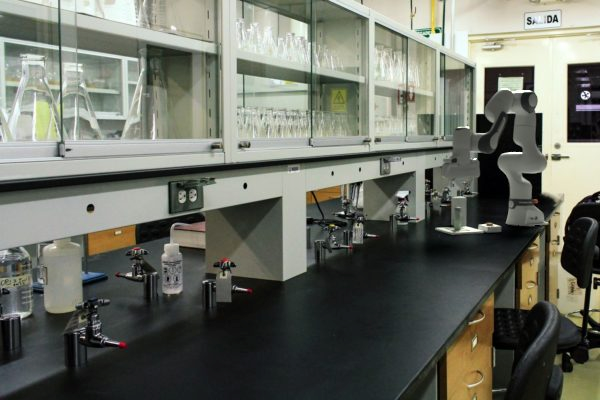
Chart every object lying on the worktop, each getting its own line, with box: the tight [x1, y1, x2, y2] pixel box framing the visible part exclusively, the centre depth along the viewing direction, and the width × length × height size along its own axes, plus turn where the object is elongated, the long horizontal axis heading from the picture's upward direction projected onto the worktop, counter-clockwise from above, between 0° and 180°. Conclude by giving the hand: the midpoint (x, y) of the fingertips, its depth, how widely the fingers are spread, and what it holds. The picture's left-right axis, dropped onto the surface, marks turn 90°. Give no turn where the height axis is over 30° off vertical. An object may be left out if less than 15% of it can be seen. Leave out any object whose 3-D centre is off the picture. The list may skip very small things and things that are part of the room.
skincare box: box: [450, 195, 467, 227], centre depth 329 cm, size 8×7×16 cm
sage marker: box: [454, 207, 461, 230], centre depth 310 cm, size 3×3×11 cm
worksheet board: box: [434, 225, 485, 236], centre depth 311 cm, size 18×16×1 cm
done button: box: [485, 222, 494, 226], centre depth 311 cm, size 3×3×2 cm
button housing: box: [477, 223, 502, 234], centre depth 312 cm, size 8×8×3 cm
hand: (460, 186), depth 308 cm, fingers open, 8 cm apart
